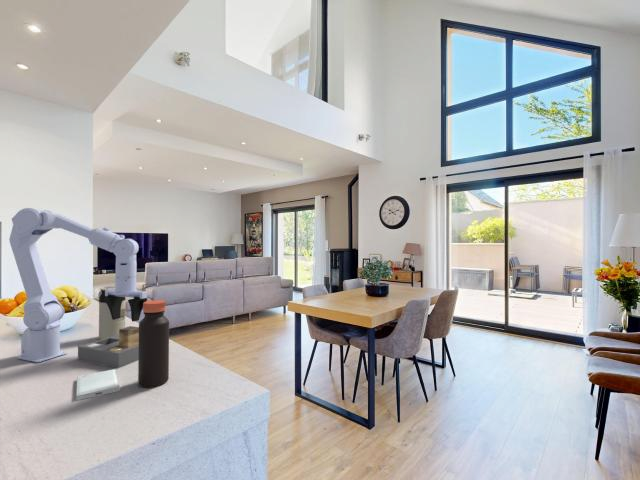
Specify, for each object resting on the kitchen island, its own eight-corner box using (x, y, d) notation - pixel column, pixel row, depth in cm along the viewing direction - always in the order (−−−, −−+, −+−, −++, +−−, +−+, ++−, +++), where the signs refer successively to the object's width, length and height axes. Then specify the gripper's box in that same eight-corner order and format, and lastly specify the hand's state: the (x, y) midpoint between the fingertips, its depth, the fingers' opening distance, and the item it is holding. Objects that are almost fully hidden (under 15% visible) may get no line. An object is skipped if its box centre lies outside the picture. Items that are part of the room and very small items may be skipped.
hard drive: (76, 376, 82) (76, 395, 72) (115, 368, 86) (119, 385, 76) (76, 382, 82) (76, 402, 72) (115, 375, 86) (119, 392, 76)
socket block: (77, 360, 95) (78, 345, 95) (118, 346, 107) (118, 333, 107) (118, 367, 90) (118, 352, 90) (156, 352, 102) (156, 339, 102)
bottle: (169, 374, 85) (170, 298, 85) (167, 385, 79) (168, 303, 79) (140, 378, 83) (141, 300, 83) (135, 390, 77) (136, 305, 77)
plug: (119, 356, 95) (119, 329, 95) (129, 352, 99) (130, 326, 99) (128, 358, 94) (128, 330, 94) (138, 353, 98) (139, 327, 98)
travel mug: (93, 339, 114) (93, 288, 114) (113, 333, 122) (114, 285, 122) (110, 341, 112) (111, 289, 112) (130, 335, 119) (130, 286, 119)
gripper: (96, 277, 101) (95, 321, 101) (134, 279, 97) (134, 324, 97) (116, 275, 108) (115, 316, 108) (152, 276, 104) (152, 319, 104)
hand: (125, 319), depth 103 cm, fingers open, 7 cm apart
